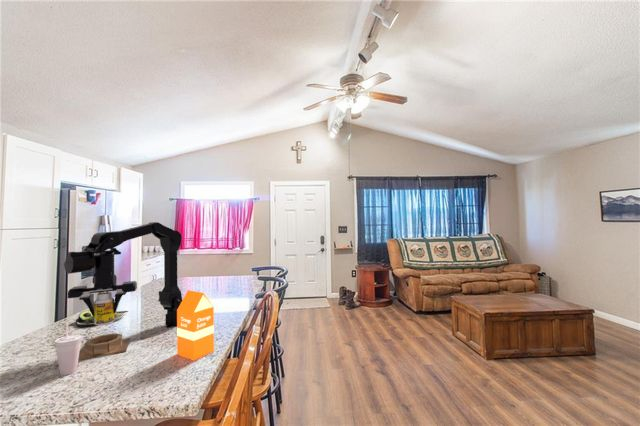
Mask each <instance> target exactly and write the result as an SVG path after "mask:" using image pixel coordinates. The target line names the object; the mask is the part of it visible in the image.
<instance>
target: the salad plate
mask: <svg viewBox="0 0 640 426" xmlns="http://www.w3.org/2000/svg"><path fill="white" fill-rule="evenodd" d="M128 312H129V310H121V311H117V310H116V313H114V321H113V322H112V323H114V322H117V321H119V320H121V319H123V318H124V315H123V314H125V313H128ZM75 324H76V326H77V327H79V328H91V327H96V326H98V325H95V323H94V316H93V315H92V314H91V312H90V310H83V311H81V312H80V313H79V314H78V317H77V318H76V320H75Z"/></svg>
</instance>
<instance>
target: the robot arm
mask: <svg viewBox="0 0 640 426" xmlns="http://www.w3.org/2000/svg"><path fill="white" fill-rule="evenodd" d="M151 234H152V236H154V237H155V238H157V239H159V243H160V247H161V249H162V250H163V253H164V254H163V256H164V257H163V259H164V260H163V263H164V265H163V266H164V272H163V273H164V277H163V278H164V280H163V281H164V284H163V285H164V286H163V289H162V290H160V291H158V300H157V301H158V302H159V304H160V306H162V307H163V309H164V311H165V310H166V313H165V315H164V316H165V317H164V318H165V326H166V328H175V327H177V309H178V308H179V306H180V304H181V302H182V300H183V296H182V295H183V294H182V291H181V289H180V287H179V286H178V285H179V284H178V251H179V249H180V248H181V244H182V238H183V237H182V233H181V232H180V231H178V230H174V229H173V228H171V227H168V226H166V225H164V224H162V223H160V222H158V221H152V222H151V221H150V222H148V223H146V224H145V223H144V224H142V225H137V226H134V227H130V228H127V229H122V230H116V231H115V230H113V231H103V232H102V231H101V232H97V233H94V234H93V235H92V237H91V239H90V242H89V243H88V245H87V246H86V247H85V248H84V249H83V250H82V251H68V253H67V256H66V257H65V261H64V263H63V264H64V265H63V268H64V270H65V272H66V273H67V274H69V275H71V274H76V273H84V272H90V271H92V269H93V275H92V284H93V287H87V285H78V286H73V287H71V288H70V289H69V290H67V299H77V298H78V300H80V301H83V302H84V304H85V305H86V307H87V308H88V311H90V312H91V314H92V315H93V316H94V302H95V294H96V293H97V294H99V293H105V292H113V291H114V292H116V293H115V295H114V313H116V311H117V310H118V307H119V304H120V302H121V299H122V297H123V296H125V295H126V294H127V293H132V292H136V291H137V289H138V283H137V281H136V280H132V281H124V282H122V284H117V278H118V277H117V275H116V273H115V255H116V256H117V255H121V254H122V252H121V251H120V250H118V249H117V247H118V246H120V245H122V244H124V242H127V241H130V240H133V239H137V238H139V237H143V236H146V235H151Z"/></svg>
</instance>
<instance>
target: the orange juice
mask: <svg viewBox="0 0 640 426" xmlns="http://www.w3.org/2000/svg"><path fill="white" fill-rule="evenodd" d="M214 309H215V308H214V306H213V304H212V303H211V302H210V299H208V297H207V295H206V294H205V293H204V292H199V291H196V290H195V291H194V290H189V289H188V290H187V291H186V293H185V295H184V297H182V302H181V304H180V306H179V308H178V309H177V326H176V337H177V339H176V343H177V344H176V349H177V351H176V352H177V355H179V356H181V357H184V358H187V359H190V360H192V361H195V360H197V359H198V360H199V359H201V358H202V357H203V356H206V355H208V354H211V353H213V352H215V339H214V337H215V335H214V334H215V325H214V317H215V316H214V313H215V311H214Z"/></svg>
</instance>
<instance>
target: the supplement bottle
mask: <svg viewBox="0 0 640 426" xmlns="http://www.w3.org/2000/svg"><path fill="white" fill-rule="evenodd" d="M96 296H97V297H96V299H94V323H95V325H97V326H99V327H100V326H107V325H110V324H112V323H114V322H115V321H114V301H115V297H112V291H107V292H98V293H97V294H96ZM113 321H114V322H113Z"/></svg>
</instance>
